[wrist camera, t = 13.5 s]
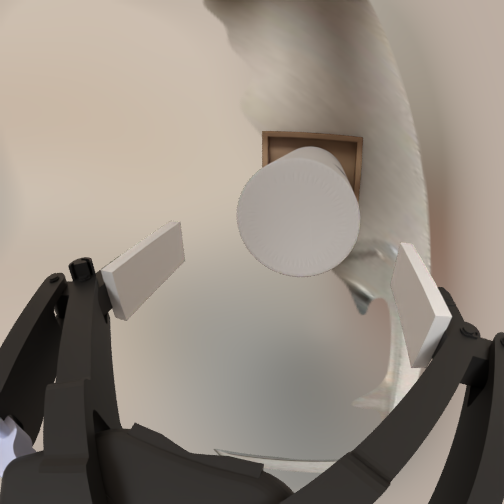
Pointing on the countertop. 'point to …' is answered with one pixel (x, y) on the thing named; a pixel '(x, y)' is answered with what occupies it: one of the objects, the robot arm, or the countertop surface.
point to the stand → (338, 145)
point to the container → (299, 213)
